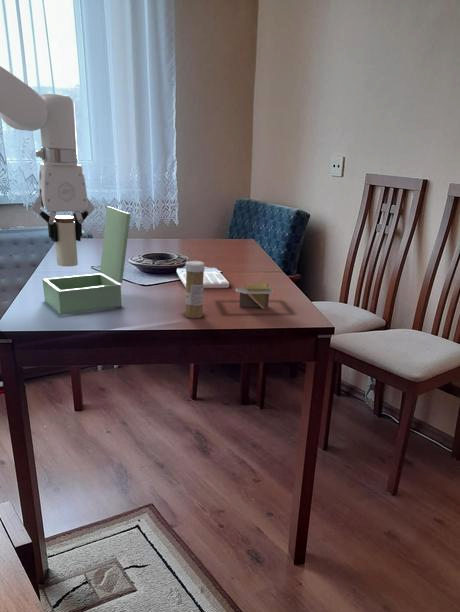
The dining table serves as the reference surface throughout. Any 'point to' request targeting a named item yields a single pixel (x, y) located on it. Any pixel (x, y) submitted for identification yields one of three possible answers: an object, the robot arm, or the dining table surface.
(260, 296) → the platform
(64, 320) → the dining table surface
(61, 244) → the jar
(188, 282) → the sprinkles bottle
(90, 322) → the dining table surface
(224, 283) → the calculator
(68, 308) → the chest
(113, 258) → the chest lid
